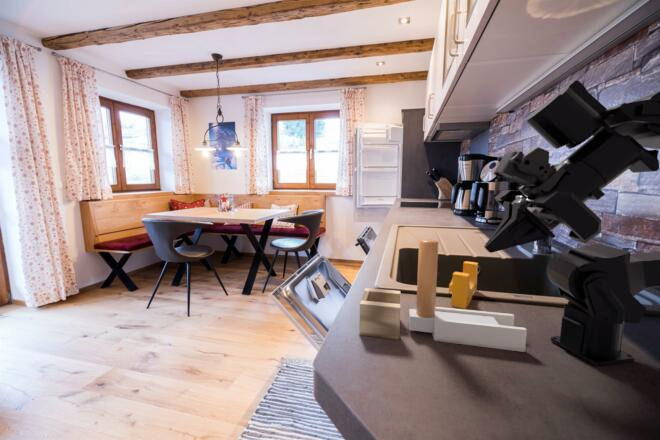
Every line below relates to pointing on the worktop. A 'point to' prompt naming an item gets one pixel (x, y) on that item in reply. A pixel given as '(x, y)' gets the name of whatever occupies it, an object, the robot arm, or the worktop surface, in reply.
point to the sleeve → (480, 331)
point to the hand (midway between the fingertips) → (486, 249)
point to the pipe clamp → (464, 285)
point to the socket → (380, 313)
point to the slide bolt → (433, 293)
